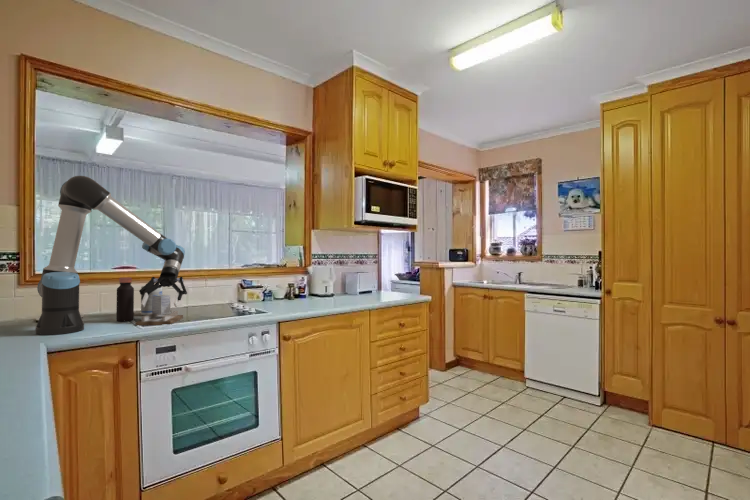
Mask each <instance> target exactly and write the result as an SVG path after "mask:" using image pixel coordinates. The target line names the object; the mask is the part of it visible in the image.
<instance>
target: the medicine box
mask: <svg viewBox="0 0 750 500" xmlns="http://www.w3.org/2000/svg"><path fill="white" fill-rule="evenodd" d="M170 313H171V295H170V294H163V293H162V294H160V295H152V314H159V315H167V314H170Z"/></svg>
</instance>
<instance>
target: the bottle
mask: <svg viewBox="0 0 750 500" xmlns="http://www.w3.org/2000/svg"><path fill="white" fill-rule="evenodd" d="M132 280H133V279H132V277H118V281H119V282H118V283H119V286H118V287H117V288H116V309H115V310H116V311H115V312H116V315H115V316H116V319H115V320H116V322H118V323H126V322H133V321H134V319H135V317H134V315H135V314H134V312H135V311H134V305H135V300H134V299H135V295H134V294H135V288H134V287H133V286H132V282H133V281H132Z"/></svg>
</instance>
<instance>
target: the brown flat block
mask: <svg viewBox="0 0 750 500" xmlns="http://www.w3.org/2000/svg"><path fill="white" fill-rule="evenodd" d="M183 318H184V314H179V310H175V311H173V312H170V314H166V315H159V314H149V315H146V316H142V317H141V319H139V320H138V321H136V322H135V327H136V326H137V325H139V326H163V325H162V324H171V323H173V324H174V322H175V323H177V322H178V321H180V320H182V319H183ZM171 325H172V324H171ZM137 327H138V326H137Z"/></svg>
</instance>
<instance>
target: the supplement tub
mask: <svg viewBox="0 0 750 500" xmlns="http://www.w3.org/2000/svg"><path fill="white" fill-rule="evenodd" d="M144 286H145V285H141V288H143V287H144ZM141 288H140V289H141ZM160 294H162V295H163V286H162V287H161V288H158V289H156V290H155V291H153V292H152V293H150V294H149V295H148V296H149V297H148V299H147V302H146V305H145V308H143V307H142V305H141V303H142V299H141V297H142V295H141V294H140V314H141V316H142V317H144V316H146V315H149V314H152V295H160Z"/></svg>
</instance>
